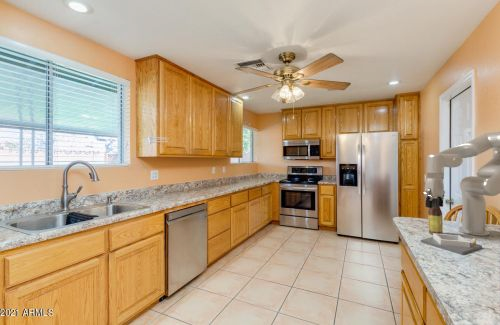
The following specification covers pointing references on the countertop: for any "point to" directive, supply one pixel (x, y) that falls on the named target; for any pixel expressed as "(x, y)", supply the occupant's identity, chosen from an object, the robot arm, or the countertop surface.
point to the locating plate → (451, 248)
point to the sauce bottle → (435, 218)
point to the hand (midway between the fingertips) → (434, 206)
